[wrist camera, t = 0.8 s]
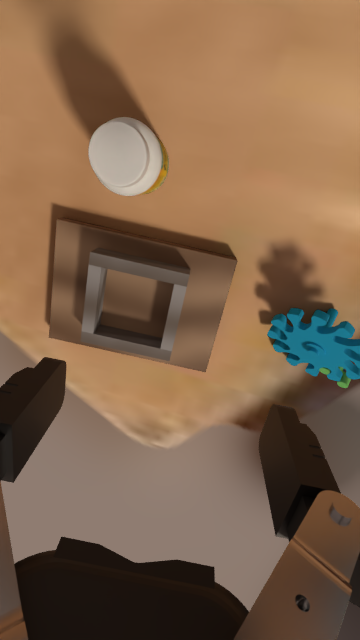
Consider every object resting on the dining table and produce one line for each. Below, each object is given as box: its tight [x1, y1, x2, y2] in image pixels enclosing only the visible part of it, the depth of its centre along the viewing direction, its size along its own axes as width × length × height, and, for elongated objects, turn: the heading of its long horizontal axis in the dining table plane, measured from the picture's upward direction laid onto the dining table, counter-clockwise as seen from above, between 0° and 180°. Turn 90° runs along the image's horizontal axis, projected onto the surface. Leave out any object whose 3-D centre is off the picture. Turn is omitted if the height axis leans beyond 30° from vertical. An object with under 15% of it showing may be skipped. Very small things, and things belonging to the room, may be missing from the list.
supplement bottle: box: [89, 117, 169, 196], centre depth 26 cm, size 5×5×10 cm
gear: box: [267, 308, 360, 388], centre depth 33 cm, size 11×6×10 cm
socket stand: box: [49, 218, 237, 372], centre depth 34 cm, size 13×18×4 cm
